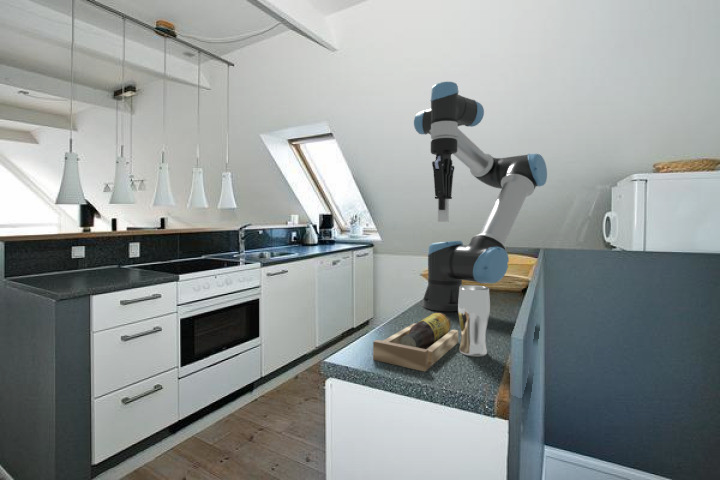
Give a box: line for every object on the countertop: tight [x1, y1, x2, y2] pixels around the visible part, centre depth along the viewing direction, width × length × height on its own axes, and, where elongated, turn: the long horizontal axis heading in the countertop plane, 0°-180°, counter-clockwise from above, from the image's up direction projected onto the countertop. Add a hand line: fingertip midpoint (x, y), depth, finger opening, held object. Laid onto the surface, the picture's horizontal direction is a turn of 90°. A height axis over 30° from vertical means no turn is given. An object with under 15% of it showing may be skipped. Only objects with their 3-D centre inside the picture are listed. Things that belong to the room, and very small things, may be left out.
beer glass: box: [457, 284, 491, 358], centre depth 85 cm, size 7×7×15 cm
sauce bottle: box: [400, 312, 452, 349], centre depth 90 cm, size 7×6×20 cm
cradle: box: [372, 323, 459, 372], centre depth 87 cm, size 22×12×4 cm, turn 148°
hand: (443, 221), depth 108 cm, fingers closed
